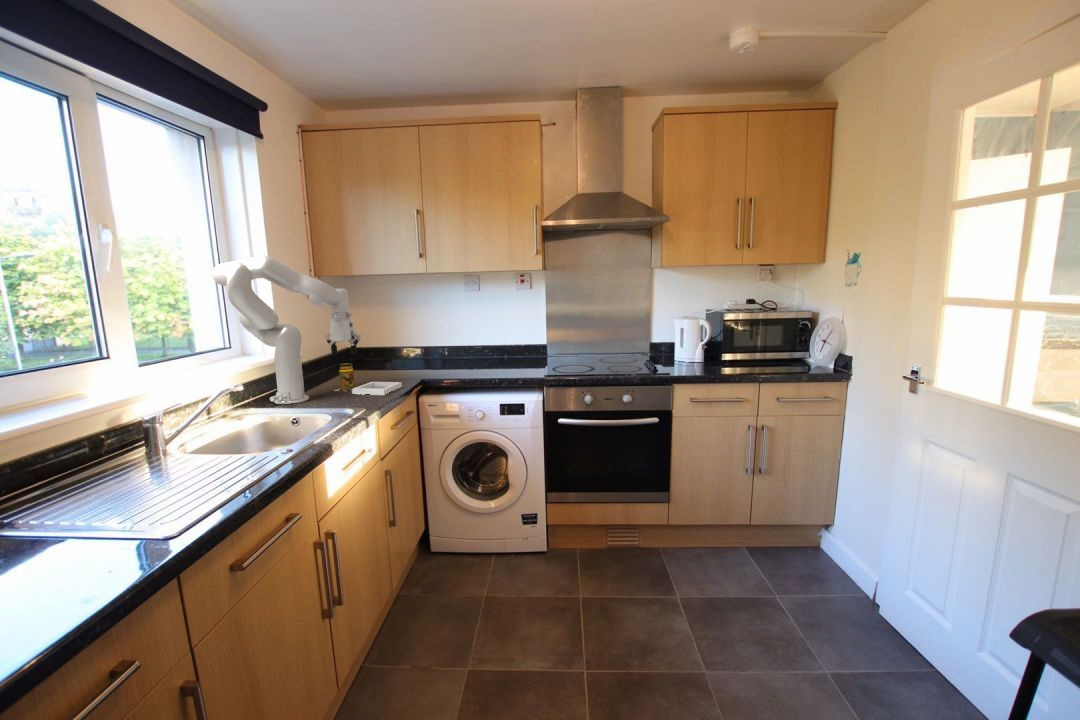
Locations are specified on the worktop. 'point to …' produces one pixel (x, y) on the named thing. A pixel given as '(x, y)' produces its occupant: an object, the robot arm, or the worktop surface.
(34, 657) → the worktop surface
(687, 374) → the worktop surface
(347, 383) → the condiment
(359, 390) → the housing
